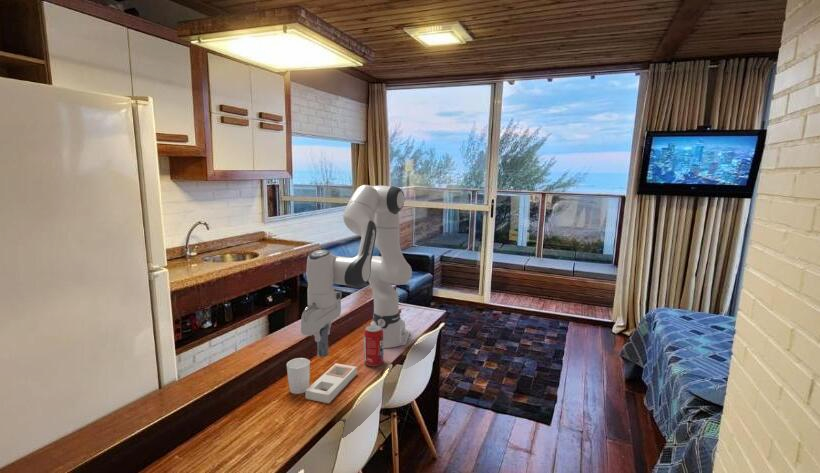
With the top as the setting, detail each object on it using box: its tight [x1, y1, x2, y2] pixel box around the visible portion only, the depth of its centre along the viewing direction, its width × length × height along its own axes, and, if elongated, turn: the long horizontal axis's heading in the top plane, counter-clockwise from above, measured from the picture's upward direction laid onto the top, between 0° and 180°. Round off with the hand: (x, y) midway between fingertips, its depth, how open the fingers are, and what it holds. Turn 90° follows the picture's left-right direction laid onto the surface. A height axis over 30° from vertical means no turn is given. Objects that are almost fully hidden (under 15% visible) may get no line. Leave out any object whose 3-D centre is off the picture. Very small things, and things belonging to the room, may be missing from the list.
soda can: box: [363, 324, 385, 367], centre depth 164 cm, size 8×8×15 cm
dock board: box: [305, 362, 358, 404], centre depth 147 cm, size 21×9×3 cm, turn 161°
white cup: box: [286, 357, 311, 395], centre depth 144 cm, size 8×8×10 cm
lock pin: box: [316, 323, 329, 358], centre depth 139 cm, size 4×4×11 cm
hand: (322, 337), depth 139 cm, fingers closed on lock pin, 4 cm apart
